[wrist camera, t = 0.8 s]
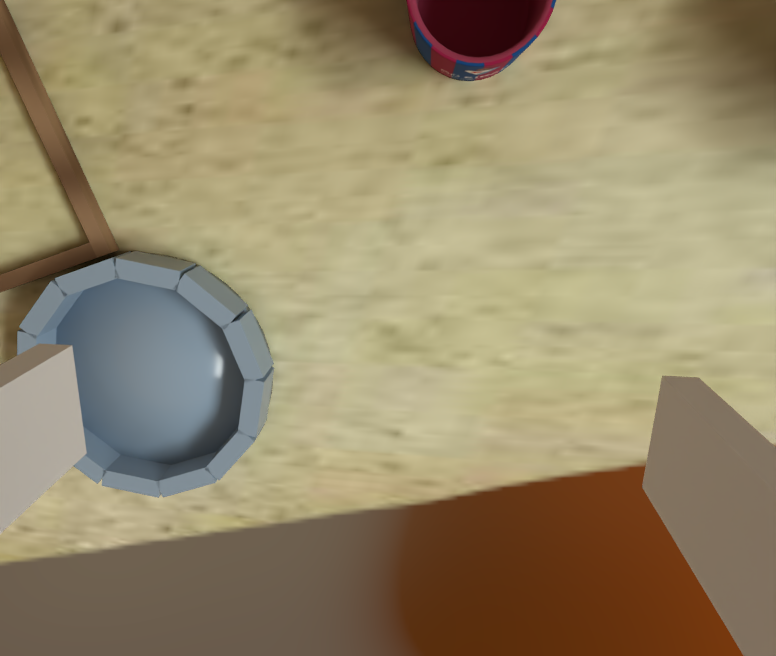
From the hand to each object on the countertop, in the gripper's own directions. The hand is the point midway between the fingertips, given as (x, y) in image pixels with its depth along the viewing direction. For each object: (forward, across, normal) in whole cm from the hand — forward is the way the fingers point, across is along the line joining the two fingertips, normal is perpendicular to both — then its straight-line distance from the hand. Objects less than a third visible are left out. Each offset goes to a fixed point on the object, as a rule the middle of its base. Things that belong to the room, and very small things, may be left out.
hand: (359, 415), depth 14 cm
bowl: (+24, -16, -9) cm, 31 cm away
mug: (+25, +3, +14) cm, 29 cm away
